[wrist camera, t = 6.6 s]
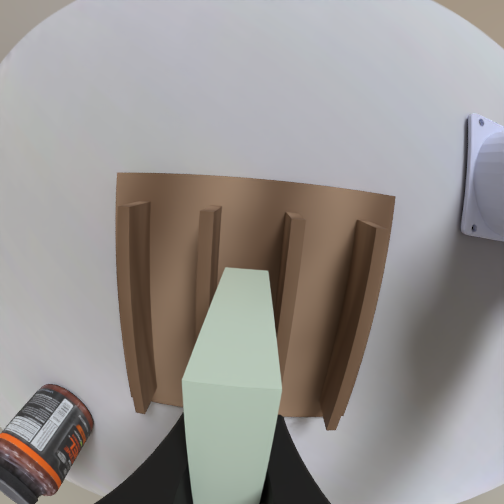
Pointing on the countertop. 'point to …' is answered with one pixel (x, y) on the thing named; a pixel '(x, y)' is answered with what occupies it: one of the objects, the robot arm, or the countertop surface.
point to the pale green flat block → (233, 392)
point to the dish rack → (257, 258)
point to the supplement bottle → (42, 444)
